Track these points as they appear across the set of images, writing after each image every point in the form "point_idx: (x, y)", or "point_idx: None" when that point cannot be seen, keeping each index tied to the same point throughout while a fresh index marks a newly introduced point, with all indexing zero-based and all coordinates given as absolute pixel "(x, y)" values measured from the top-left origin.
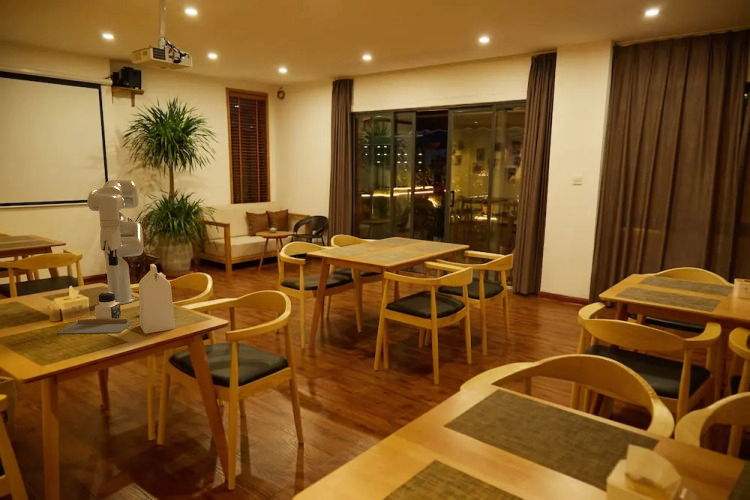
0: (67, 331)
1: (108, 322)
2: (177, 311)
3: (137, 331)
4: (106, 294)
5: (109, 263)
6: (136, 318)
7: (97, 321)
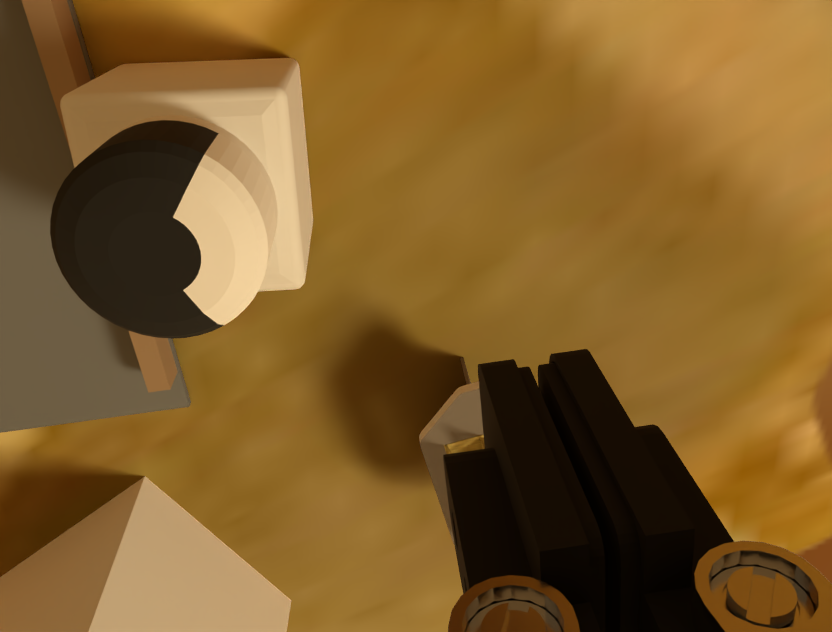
0: None
1: None
2: None
3: (8, 527)
4: (98, 290)
5: (490, 408)
6: (315, 361)
7: None
